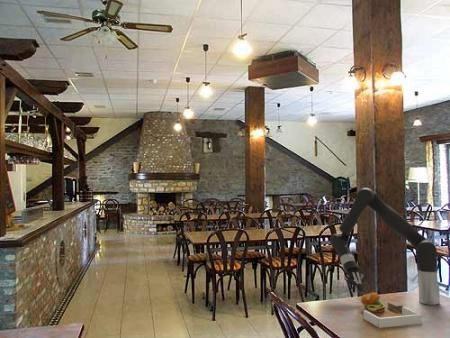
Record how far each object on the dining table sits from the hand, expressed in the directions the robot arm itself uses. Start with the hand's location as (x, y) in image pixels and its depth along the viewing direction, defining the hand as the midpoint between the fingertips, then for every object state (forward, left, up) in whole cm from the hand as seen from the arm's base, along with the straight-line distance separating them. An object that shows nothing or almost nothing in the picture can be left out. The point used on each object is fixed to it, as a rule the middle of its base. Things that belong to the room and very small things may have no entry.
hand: (361, 291), depth 208 cm
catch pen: (0, +26, -7) cm, 27 cm away
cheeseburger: (0, +10, -7) cm, 13 cm away
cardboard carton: (-12, +12, -7) cm, 18 cm away
